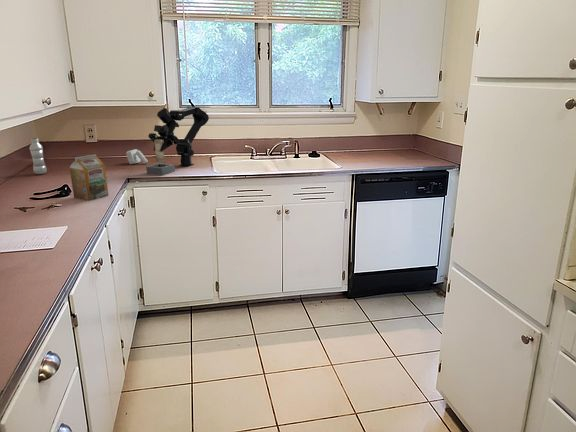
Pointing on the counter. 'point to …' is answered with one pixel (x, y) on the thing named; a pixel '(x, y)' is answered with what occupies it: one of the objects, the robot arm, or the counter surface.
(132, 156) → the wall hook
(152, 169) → the frame
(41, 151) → the plastic bottle
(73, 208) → the counter surface
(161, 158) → the birch peg
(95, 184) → the milk carton
